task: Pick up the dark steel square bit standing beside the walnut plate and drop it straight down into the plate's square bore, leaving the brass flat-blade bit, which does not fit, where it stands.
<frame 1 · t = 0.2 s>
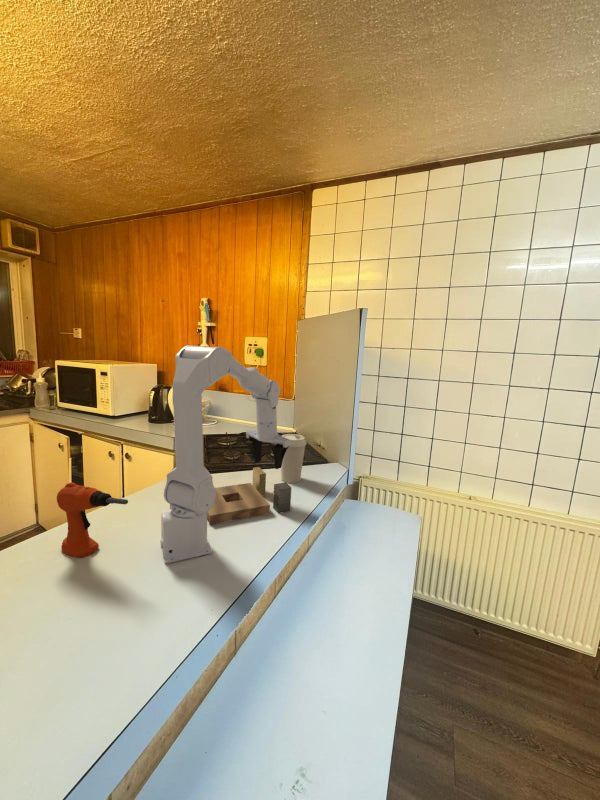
hand: (268, 464, 98), 10 cm above the worktop, tool pointing down, fingers open, 7 cm apart
coffee cup: (290, 479, 115), on the worktop
toy drill: (95, 555, 69), on the worktop
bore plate: (232, 505, 93), on the worktop
square bit: (281, 509, 92), on the worktop
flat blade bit: (258, 492, 103), on the worktop
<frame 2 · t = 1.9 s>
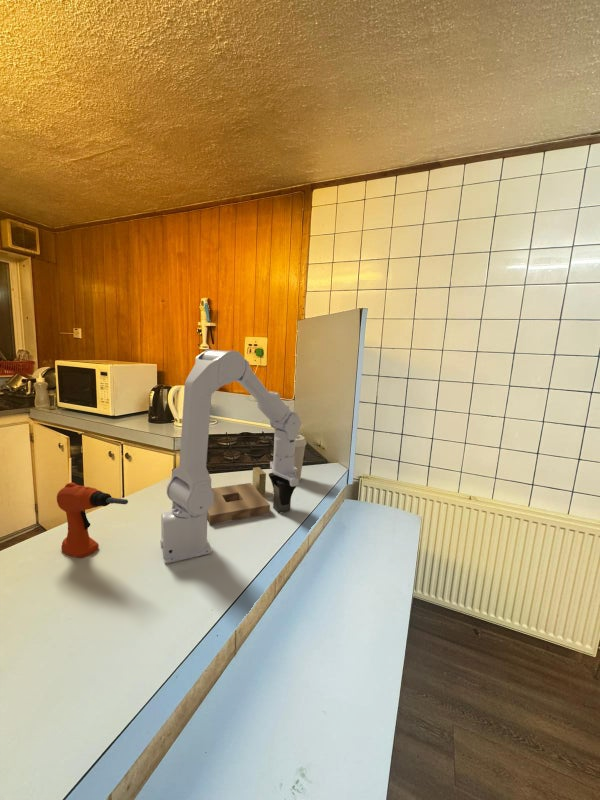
hand: (281, 501, 92), 2 cm above the worktop, tool pointing down, fingers closed on square bit, 4 cm apart
square bit: (281, 509, 92), on the worktop, touching gripper
everything else where it was.
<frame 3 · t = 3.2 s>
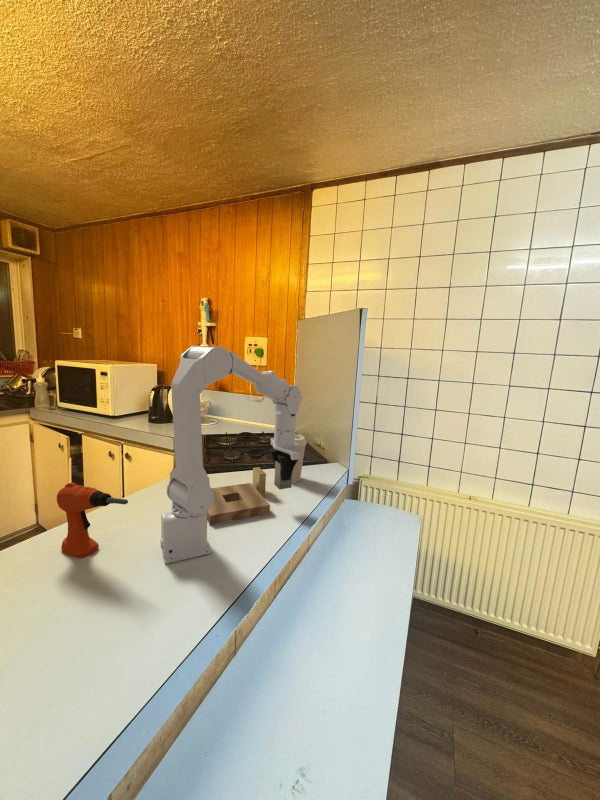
hand: (282, 477, 91), 9 cm above the worktop, tool pointing down, fingers closed on square bit, 4 cm apart
square bit: (282, 486, 91), point 7 cm above the worktop, touching gripper
everything else where it was.
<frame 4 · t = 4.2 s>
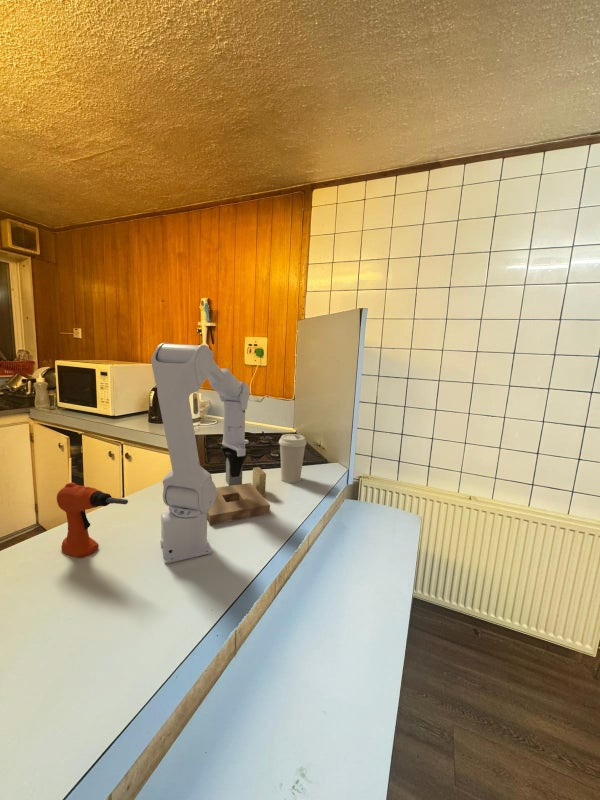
hand: (233, 473, 92), 9 cm above the worktop, tool pointing down, fingers closed on square bit, 4 cm apart
square bit: (233, 482, 92), point 7 cm above the worktop, touching gripper
everything else where it was.
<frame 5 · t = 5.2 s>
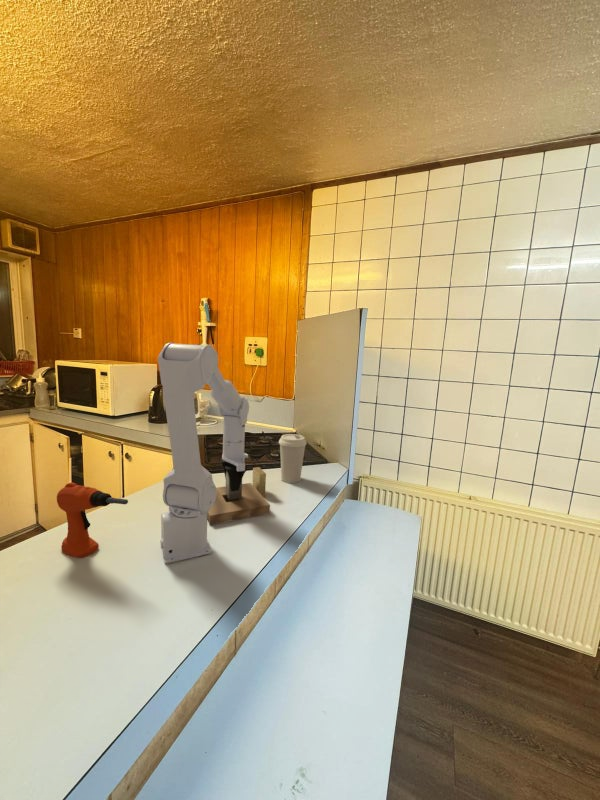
hand: (232, 487, 92), 5 cm above the worktop, tool pointing down, fingers closed on square bit, 4 cm apart
square bit: (233, 496, 93), point 3 cm above the worktop, touching gripper
everything else where it was.
when the fingers open (3 cm above the worktop, at t = 6.3 s): square bit stays where it is, resting in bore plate.
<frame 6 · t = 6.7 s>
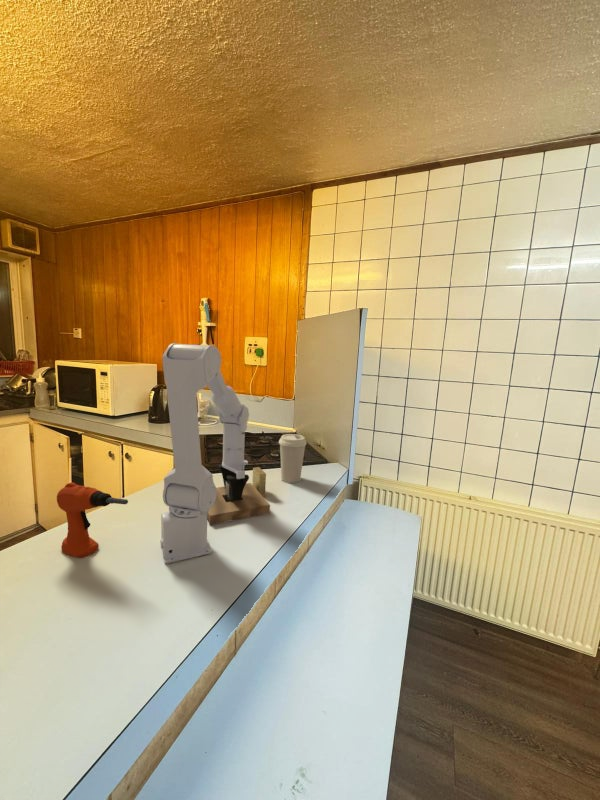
hand: (232, 494, 93), 3 cm above the worktop, tool pointing down, fingers open, 7 cm apart
square bit: (233, 505, 93), resting in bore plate
everything else where it was.
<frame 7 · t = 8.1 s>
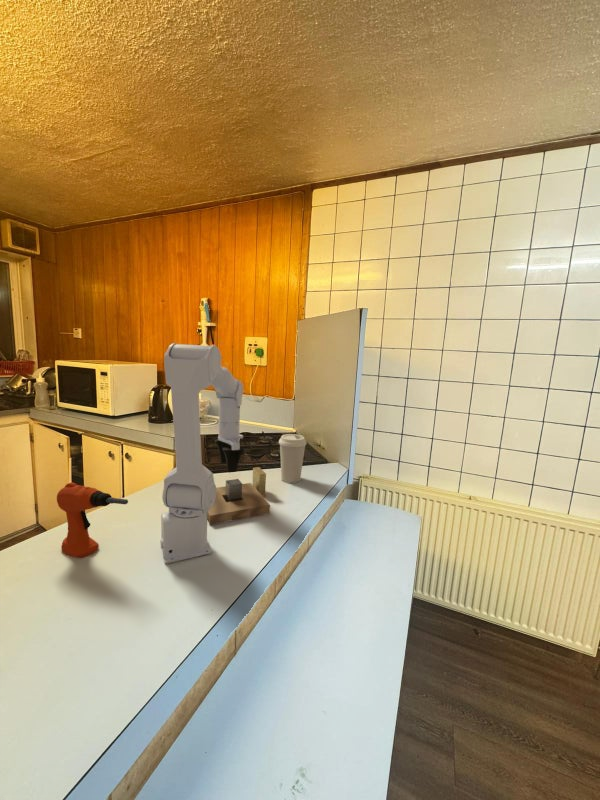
hand: (228, 467, 96), 10 cm above the worktop, tool pointing down, fingers open, 7 cm apart
nothing on the worktop moved.
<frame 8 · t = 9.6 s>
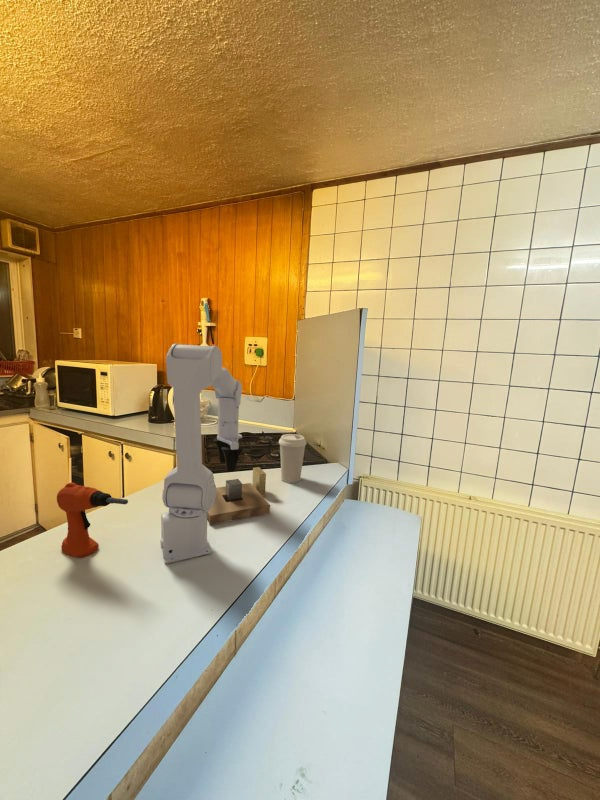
hand: (227, 466, 97), 9 cm above the worktop, tool pointing down, fingers open, 7 cm apart
nothing on the worktop moved.
at the end: square bit 0.3 cm off-centre on the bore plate, point 0.0 cm above the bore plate's base; square bit tilted 0°; the gripper is holding nothing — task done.
